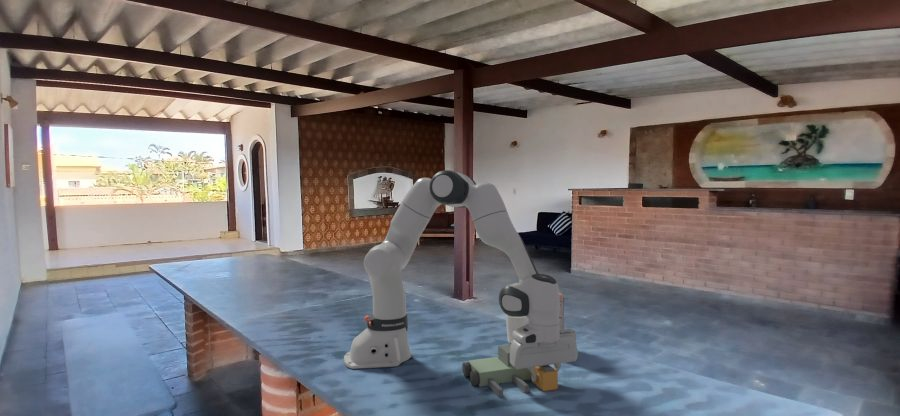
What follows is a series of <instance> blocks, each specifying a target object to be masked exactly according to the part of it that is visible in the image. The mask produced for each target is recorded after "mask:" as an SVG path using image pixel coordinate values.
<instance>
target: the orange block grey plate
mask: <svg viewBox="0 0 900 416" xmlns="http://www.w3.org/2000/svg"><path fill="white" fill-rule="evenodd" d="M533 371H534V372H535V373H536V374H537V375H539V378H538V379H539V381H536V382H533V381H532V380H531V382H532V383H533V384H534V385H536V386H537V387H538V388H539V389H540V390H541V391H542V392H547V391H552V390H558V389H559V387H558V383H559V382H558V380H559V379H558V378H559V377H558V376H559V375H558V374H559V371H556V370H555V369H554V368H553V366H551V365H544V366H537V367H535V370H533Z"/></svg>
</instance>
